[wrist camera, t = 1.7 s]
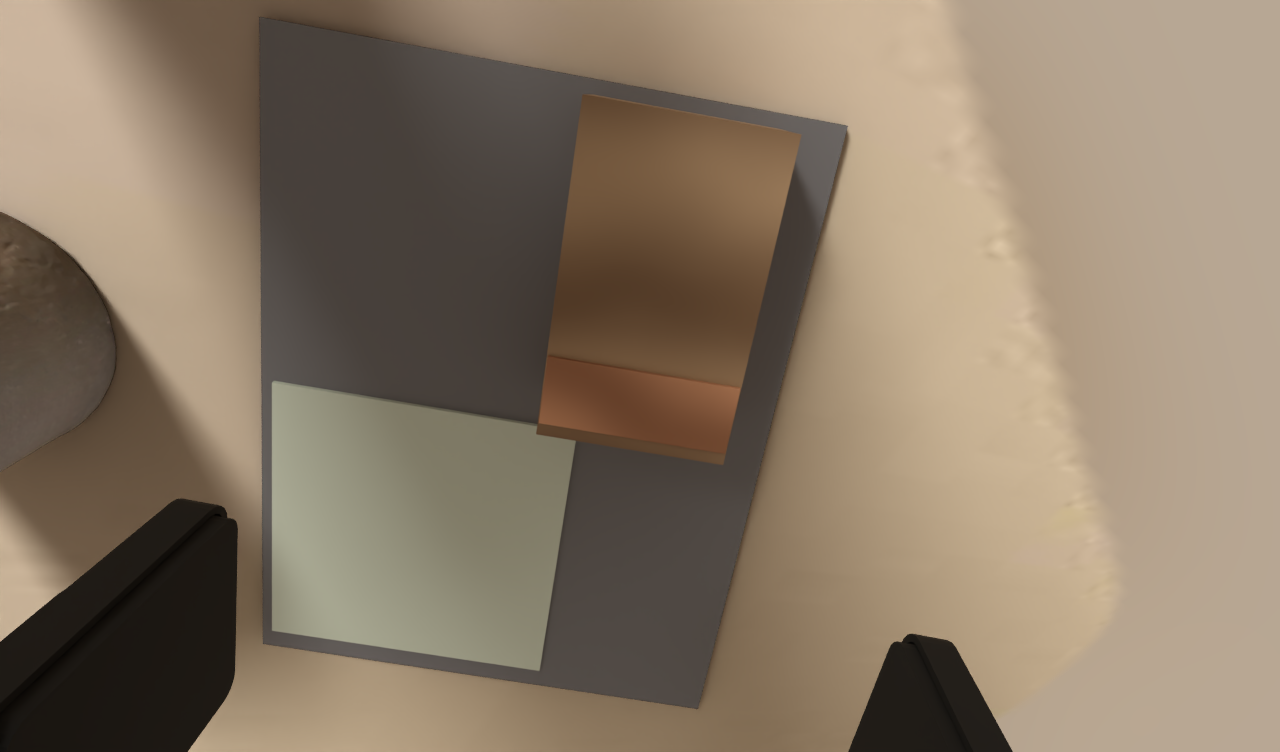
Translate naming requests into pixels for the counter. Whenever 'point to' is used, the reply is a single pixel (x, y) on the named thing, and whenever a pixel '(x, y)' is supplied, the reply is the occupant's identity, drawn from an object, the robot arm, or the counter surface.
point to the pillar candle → (47, 343)
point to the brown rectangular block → (661, 276)
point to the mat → (476, 381)
